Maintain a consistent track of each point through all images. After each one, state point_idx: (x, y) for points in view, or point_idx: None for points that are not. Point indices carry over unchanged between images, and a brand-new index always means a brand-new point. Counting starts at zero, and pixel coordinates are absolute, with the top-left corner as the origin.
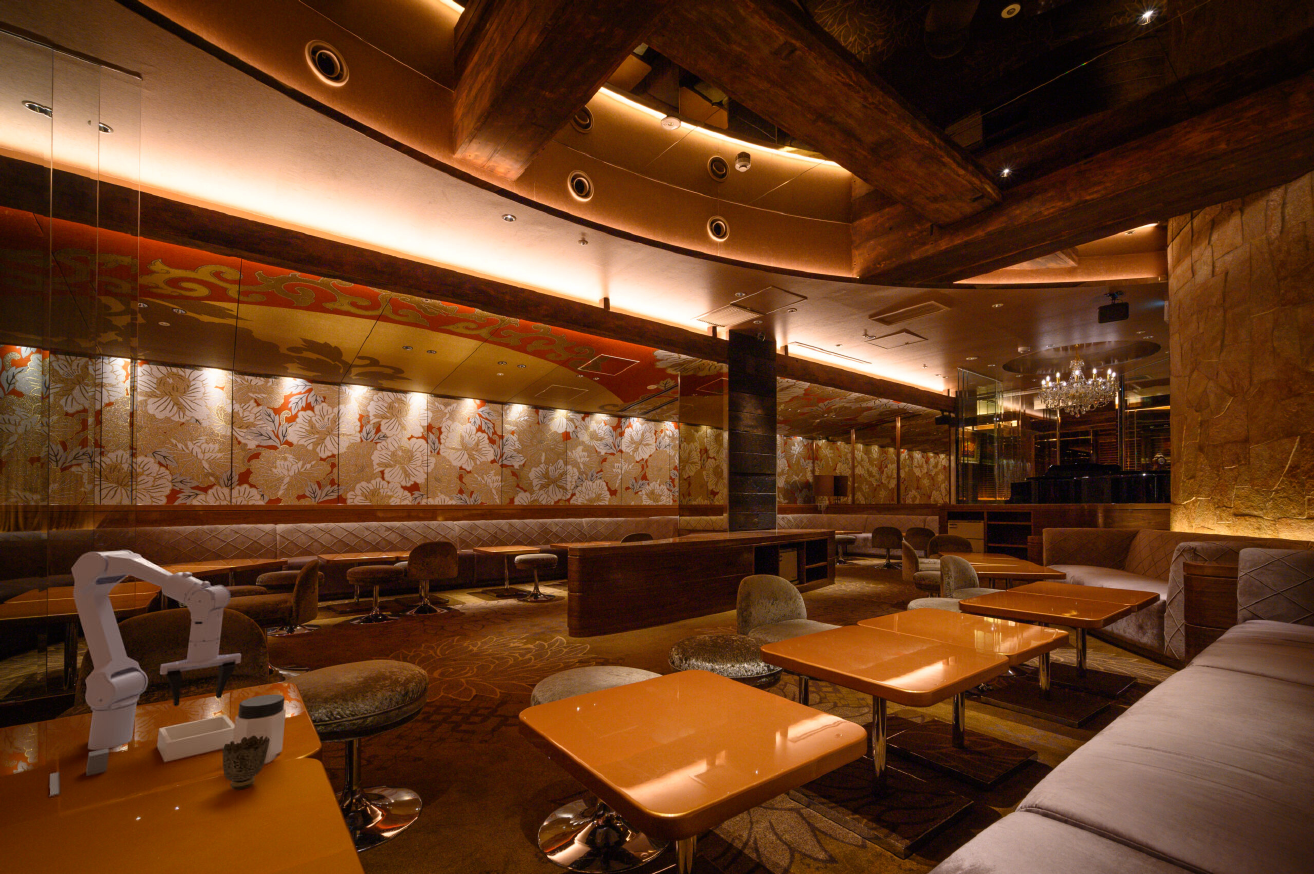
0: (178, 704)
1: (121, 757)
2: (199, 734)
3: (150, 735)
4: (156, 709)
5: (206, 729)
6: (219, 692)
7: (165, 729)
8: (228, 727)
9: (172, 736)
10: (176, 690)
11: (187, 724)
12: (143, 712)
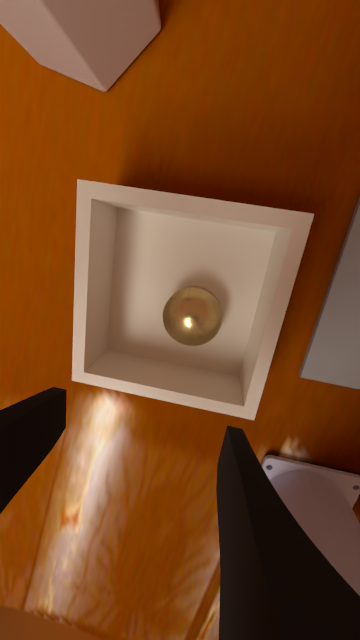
0: (229, 428)
1: (318, 400)
2: (153, 363)
3: (214, 495)
4: (150, 628)
5: (134, 365)
6: (42, 399)
7: (240, 403)
8: (94, 257)
9: (218, 383)
10: (268, 499)
11: (180, 391)
12: (172, 631)
